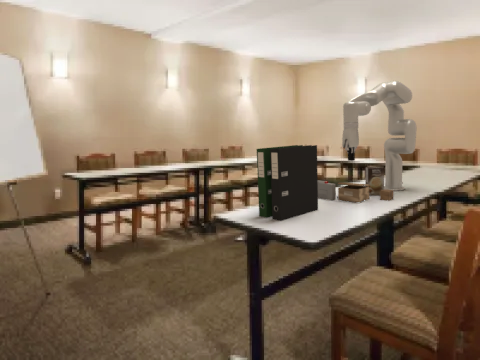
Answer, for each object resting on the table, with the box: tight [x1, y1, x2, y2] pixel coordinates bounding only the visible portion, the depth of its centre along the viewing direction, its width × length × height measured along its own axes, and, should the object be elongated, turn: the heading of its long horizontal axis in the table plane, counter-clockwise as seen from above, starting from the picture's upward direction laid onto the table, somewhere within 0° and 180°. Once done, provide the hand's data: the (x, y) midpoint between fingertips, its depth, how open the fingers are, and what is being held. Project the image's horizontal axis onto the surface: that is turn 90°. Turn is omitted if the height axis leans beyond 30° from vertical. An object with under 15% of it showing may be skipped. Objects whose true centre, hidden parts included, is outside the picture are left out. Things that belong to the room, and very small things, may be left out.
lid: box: [337, 182, 370, 186], centre depth 194 cm, size 12×12×1 cm
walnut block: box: [379, 189, 395, 202], centre depth 192 cm, size 5×5×5 cm
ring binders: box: [256, 144, 319, 222], centre depth 170 cm, size 27×15×32 cm, turn 129°
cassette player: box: [318, 180, 337, 201], centre depth 203 cm, size 16×3×10 cm, turn 33°
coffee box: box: [364, 166, 385, 197], centre depth 205 cm, size 9×6×16 cm
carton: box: [337, 185, 370, 203], centre depth 195 cm, size 12×12×7 cm
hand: (351, 160), depth 190 cm, fingers closed
